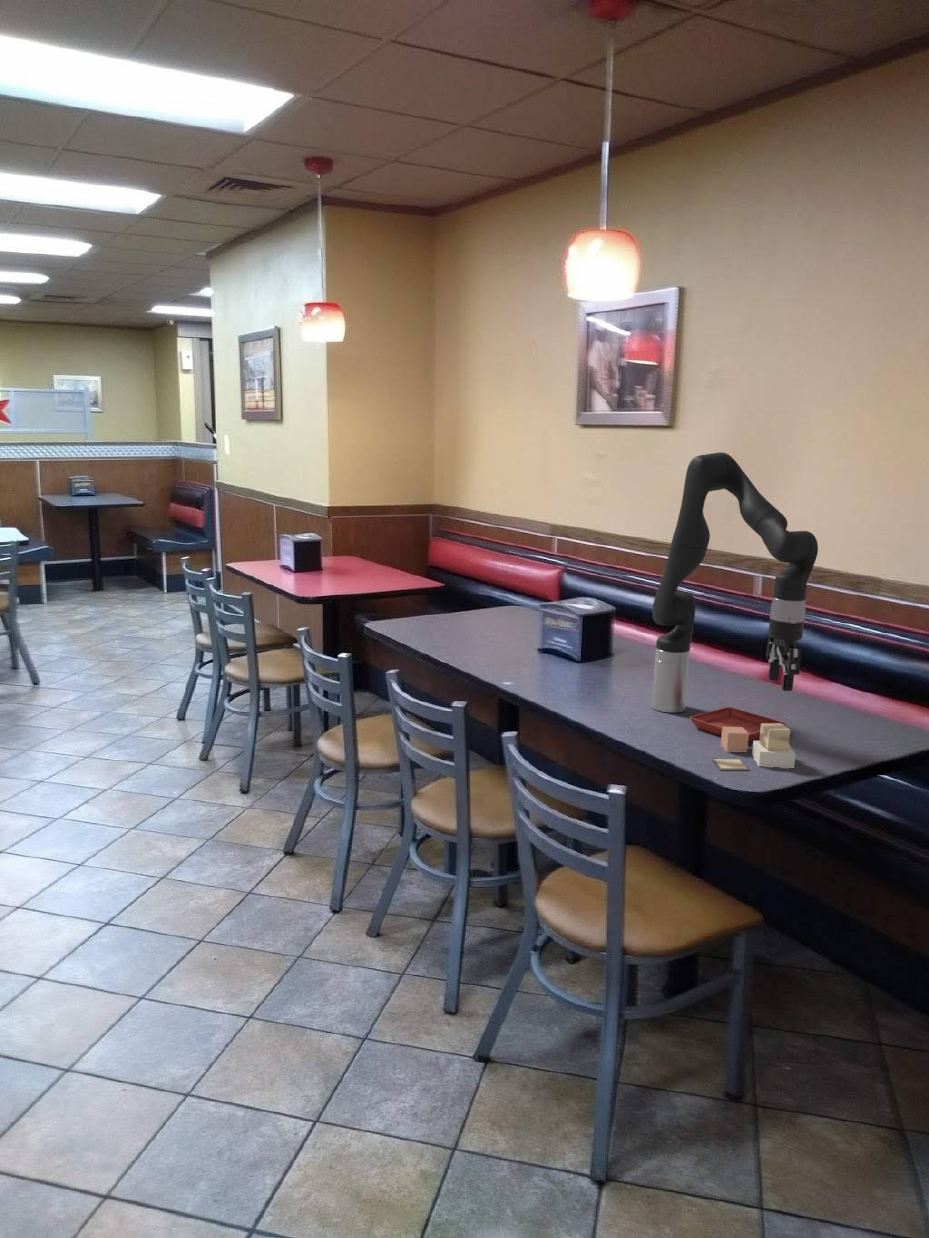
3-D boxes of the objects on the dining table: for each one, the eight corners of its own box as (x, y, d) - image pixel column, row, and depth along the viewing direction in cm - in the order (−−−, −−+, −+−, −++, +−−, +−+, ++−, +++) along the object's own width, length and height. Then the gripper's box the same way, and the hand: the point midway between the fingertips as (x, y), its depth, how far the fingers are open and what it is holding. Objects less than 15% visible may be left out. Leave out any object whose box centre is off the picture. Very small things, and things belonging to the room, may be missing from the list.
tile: (711, 760, 219) (711, 758, 219) (739, 760, 220) (740, 758, 220) (720, 770, 213) (720, 768, 213) (749, 770, 213) (749, 769, 213)
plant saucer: (728, 717, 255) (729, 705, 254) (786, 734, 241) (787, 722, 241) (687, 728, 244) (687, 716, 243) (745, 748, 230) (746, 735, 229)
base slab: (751, 756, 224) (753, 740, 223) (785, 758, 223) (787, 742, 222) (758, 767, 216) (760, 751, 215) (793, 770, 215) (795, 753, 215)
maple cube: (759, 743, 221) (760, 723, 220) (779, 743, 222) (781, 723, 221) (767, 750, 216) (769, 730, 215) (788, 750, 217) (790, 730, 216)
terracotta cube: (720, 745, 230) (722, 726, 229) (740, 746, 230) (742, 727, 229) (726, 752, 225) (728, 733, 224) (747, 753, 226) (748, 733, 225)
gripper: (760, 611, 219) (753, 676, 223) (782, 624, 206) (775, 693, 209) (791, 611, 220) (784, 677, 223) (815, 624, 206) (808, 694, 209)
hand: (780, 685), depth 216 cm, fingers open, 8 cm apart
